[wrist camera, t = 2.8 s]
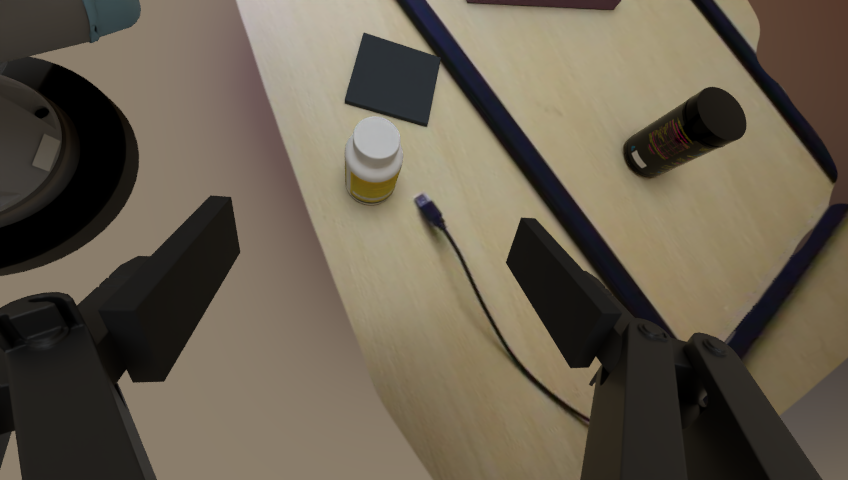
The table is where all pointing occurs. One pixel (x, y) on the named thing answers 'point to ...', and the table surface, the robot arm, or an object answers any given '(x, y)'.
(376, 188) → the supplement bottle
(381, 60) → the mat
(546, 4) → the book
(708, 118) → the supplement container
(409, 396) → the table surface
